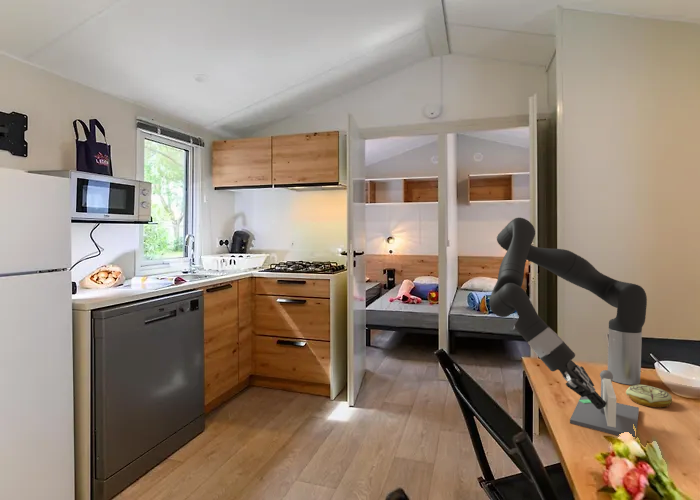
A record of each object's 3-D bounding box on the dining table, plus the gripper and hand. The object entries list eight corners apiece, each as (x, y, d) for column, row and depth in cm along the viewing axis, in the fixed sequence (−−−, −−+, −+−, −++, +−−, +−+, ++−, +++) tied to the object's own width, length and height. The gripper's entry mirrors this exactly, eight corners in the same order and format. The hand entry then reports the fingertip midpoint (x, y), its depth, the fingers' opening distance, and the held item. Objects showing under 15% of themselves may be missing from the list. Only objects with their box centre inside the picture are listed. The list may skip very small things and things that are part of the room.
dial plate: (581, 398, 119) (581, 394, 119) (638, 411, 111) (638, 406, 111) (569, 423, 104) (569, 418, 104) (635, 440, 95) (635, 435, 95)
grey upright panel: (596, 399, 116) (597, 360, 115) (609, 401, 114) (610, 362, 114) (603, 436, 94) (605, 388, 94) (618, 439, 93) (620, 391, 92)
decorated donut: (618, 397, 120) (618, 385, 120) (642, 392, 124) (642, 380, 124) (655, 411, 111) (655, 398, 111) (679, 406, 115) (679, 393, 114)
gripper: (545, 350, 112) (593, 405, 105) (533, 362, 102) (586, 424, 95) (567, 335, 109) (618, 391, 102) (556, 346, 98) (613, 409, 91)
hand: (602, 406), depth 98 cm, fingers closed
